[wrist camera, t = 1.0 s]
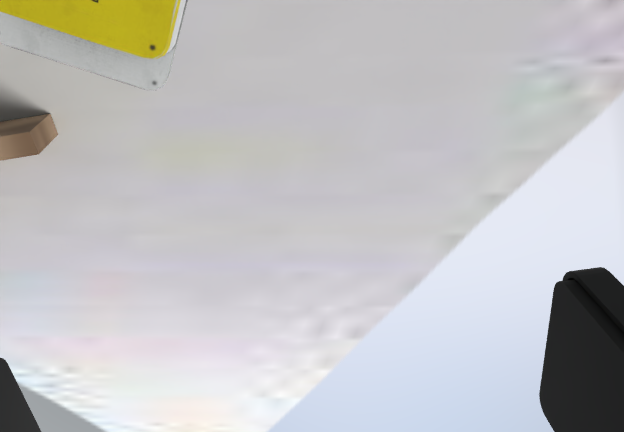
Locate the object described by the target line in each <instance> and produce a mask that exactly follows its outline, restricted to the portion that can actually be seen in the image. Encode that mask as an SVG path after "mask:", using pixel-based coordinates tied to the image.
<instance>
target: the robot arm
mask: <svg viewBox="0 0 624 432" xmlns="http://www.w3.org/2000/svg"><path fill="white" fill-rule="evenodd" d="M540 403H541V407H542V409H543V412H544V414H545V416H546V418H547V420H548V422H549V423H550V425H551V427H552V428H553V430H554V431H555V432H624V286H623V285H622V284H621V283H620V282H619V281H618V280H617V279H616V278H615V277H614V276H613V275H612V274H611V273H610V272H609V271H608V270H606V269H605V268H601V267H599V268H591V269H584V270H577V271H570V272H567V273H566V274H565V276H564V277H563V281H559V282H557V283H556V284H555V287H554V292H553V299H552V307H551V314H550V321H549V328H548V335H547V343H546V350H545V358H544V364H543V372H542V379H541V386H540ZM0 432H41V431H40V428H39V426H38V424H37V422H36V420H35V418H34V416H33V414H32V412H31V410H30V408H29V406H28V404H27V402H26V400H25V398H24V396H23V394H22V392H21V390H20V388H19V386H18V384H17V382H16V380H15V378H14V376H13V374H12V372H11V370H10V368H9V366H8V364H7V362H6V361H5V360H4V359H3V358H0Z"/></svg>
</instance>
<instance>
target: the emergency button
mask: <svg viewBox="0 0 624 432" xmlns="http://www.w3.org/2000/svg"><path fill="white" fill-rule="evenodd" d="M187 2H188V0H0V44H3V45H6V46H9V47H12V48H15V49H18V50H22V51H25V52H28V53H31V54H34V55H37V56H41V57H44V58H47V59H50V60H53V61H56V62H59V63H63V64H66V65H69V66H72V67H75V68H78V69H81V70H85V71H88V72H91V73H94V74H97V75H100V76H103V77H107V78H110V79H113V80H116V81H119V82H122V83H126V84H129V85H132V86H135V87H138V88H141V89H144V90H157V89H159V88H161V87H162V86H164V85H165V83H166V81H167V79H168V77H169V75H170V71H171V67H172V63H173V59H174V55H175V50H176V46H177V42H178V38H179V34H180V30H181V26H182V22H183V18H184V14H185V10H186V6H187Z"/></svg>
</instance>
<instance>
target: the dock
mask: <svg viewBox="0 0 624 432" xmlns="http://www.w3.org/2000/svg"><path fill="white" fill-rule="evenodd" d="M57 135H58V133H57V130H56V128H55V125H54V122H53V120H52V117H51V114H45V115H39V116H32V117H26V118H20V119H14V120H8V121H2V122H0V160H6V159H12V158H19V157H25V156H31V155H37V154H39V153H40V152H41V151H42V150H43V149H44V148H45V147H46V146H47V145H48V144H49V143H50V142H51V141H52V140H53V139H54V138H55V137H56V136H57Z"/></svg>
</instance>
